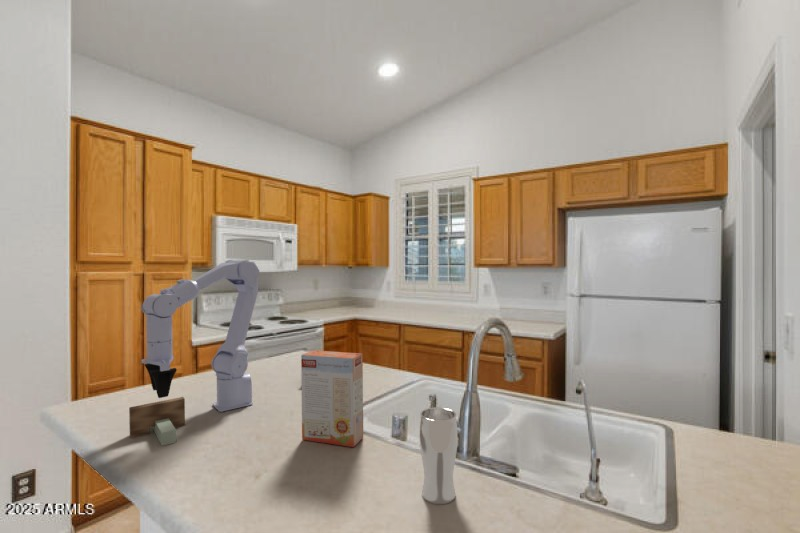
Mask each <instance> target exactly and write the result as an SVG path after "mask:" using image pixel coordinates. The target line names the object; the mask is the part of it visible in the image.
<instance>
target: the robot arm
mask: <svg viewBox="0 0 800 533" xmlns="http://www.w3.org/2000/svg"><path fill="white" fill-rule="evenodd" d="M259 273H260V269H259V267H258V266H257V264H256V263H255V261H253V260H251V259H241V260H240V259H236V260H234V259H228V260H226V261H225V262H220V263H219V264H217V265H216V266H214V267H213V268H212V269H210V270H208V271H206V272H205V273H203V274H201V275H200V276H198V277H197V278H194V279H193V280H191V279H187V278H186V279H178V280H177V281H176V283H175V284H173V285H171V286H170V287H168V288H162V289H160V292H159V294H158V293H154V294H153V293H152V294H150V295H148V296H147V297H145V299H144V301H143V303H142V305H141V306H140V308H141V311H142V312H143V314H144V315H145V317H146V318H145V319H146V325H145V326H146V358H143V359H141V364H144V367H145V368H146V370H147V372H148V374H149V379H150V383H151V387H152V390H153V391H156V394H157V398H158V399H161V398H166V397H169V394H170V389H171V385H172V382H173V378H174V377H175V374H177V370H178V369H177V368H176V367H173V368H172V367H171V363H172V362H173V360H174V357H175V356H174V355H173V354H174V353H173V352H174V350H173V349H174V348H173V342H174V341H173V315H174V314H175V313H176V312H177V309H178V308H180V307H182V306H184V305H185V304H188V303H189V302H191V301H193V300H195V299H196V298H197V297H198V296H199V293H200V291H201V290H203V289H206V288H208V287H211V285H213V284H215V283H218V282H220V281H222V280H225V279H226V280H227V281H228V282H229V283H230V284H232V286H234V287H235V289H236V290H237V292H238V294H237V298H236V300H235V301H236V302H235V304H234V309H233V311H232V316H231V319H230V322H229V327H228V331H227V334H226V338H225V341H224V343H223V344H221V345H220V346H219V347H218V348H217V351H216V354H214V356H213V358H212V360H211V363H210V364H211V369H212V370H213V371H214V372H215V376H216V402H213V403H212V406H213V407H214V408H215V409H216V410H218V412H220V413H221V412H222V413H223V412H226V411H230V410H234V409H235V410H236V409H238V408H243V407H247V406H252V405H253V403H254V402H253V395H252V394H253V385H252V378H251V375H250V374H249V373H248V372H246V371H247V370H248V365H249V362H248V356H249V352H248V350H247V348H246V346H245V342H246V338H247V336H248V335H247V334H248V332H249V327H250V323H251V319H252V315H253V311H254V308H255V306H256V301H257V296H258V293H259V281H258V277H259V275H260V274H259ZM245 372H246V373H245Z"/></svg>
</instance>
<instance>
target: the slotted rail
mask: <svg viewBox="0 0 800 533" xmlns="http://www.w3.org/2000/svg"><path fill="white" fill-rule="evenodd" d="M151 428H152V430H153V431H154V433H155V435H156V438H157V439H158V442H159V443H160V446H162V447H163V446H166V445H171V444H175V443H177V428H176V427H174V426H173V424H172V423H171V421H170V420H169V418H167V419H163V420H158V421H155V426H154V427H151Z"/></svg>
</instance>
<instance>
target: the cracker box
mask: <svg viewBox="0 0 800 533" xmlns="http://www.w3.org/2000/svg"><path fill="white" fill-rule="evenodd" d="M300 361H301V366H300V368H301V371H300V372H301V439H302V440H303V441H309V442H314V443H315V442H316V443H321V444H322V443H323V444H328V445H329V444H330V445H336V446H342V447H343V446H344V447H347V448H348V447H349V448H354V447H355V446H357V445H358V443H360V441H361V440H363V438H364V384H363V383H364V382H363V381H364V375H363V374H364V372H363V371H364V370H363V364H364V363H363V353H360V352H358V353H356V352H341V351H331V350H330V351H328V350H316V349H315V350H314V349H313V350H310V351H308V352H305V353H302V354H301V360H300Z"/></svg>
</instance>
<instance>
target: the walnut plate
mask: <svg viewBox="0 0 800 533" xmlns="http://www.w3.org/2000/svg"><path fill="white" fill-rule="evenodd" d="M185 401H186V400H185V397H184V396H181V397H176V398H170V399H166V400H160V401H155V402H149V403H145V404H141V405H140V404H139V405H136V406H135V405H134V406H129V416H128V418H129V420H128V421H129V423H128V424H129V438H131V439H133V438H136V437H140V436H145V435H149V433H150V432H149V431H150V430H149V429H150V428H152V427H154V426H155V421H158V420H163V419H167V418H169V420H170V421H171V423H172V424H173V426H174V427H175V428H178V426H179V427H182V425H183V426H185V425H186V410H185V409H186V405H185V404H186V402H185Z"/></svg>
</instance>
